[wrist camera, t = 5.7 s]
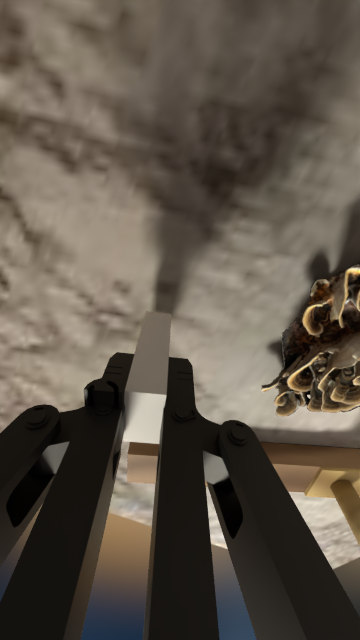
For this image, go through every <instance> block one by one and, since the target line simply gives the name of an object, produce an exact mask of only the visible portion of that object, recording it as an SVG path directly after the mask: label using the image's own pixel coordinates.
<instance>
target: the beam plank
mask: <svg viewBox="0 0 360 640" xmlns="http://www.w3.org/2000/svg"><path fill="white" fill-rule="evenodd" d="M260 444H261V445H262V447H263V449H264V451H265V452H266V454H267V456H268V458H269V459H270V461H271V463H272V465H273V466H274V468H275V470H276V472H277V473H278V475H279V477H280V479H281V480H282V482H283V484H284V486H285V487H286V489H287V491H289V492H304V494H305V496H310V497H327V498H336V500H337V502H338V504H339V506H340V508H341V510H342V512H343V514H344V516H345V518H346V520H347V522H348V524H349V526H350V528H351V530H352V532H353V534H354V536H355V537H356V539H357V541H358V543H359V545H360V497H359V496H360V449H353V448H339V447H324V446H310V445H296V444H281V443H267V442H260ZM158 451H159V444H153V443H140V442H130V445H129V450H128V467H127V482H136V483H153V484H156V472H157V469H156V466H157V458H158ZM205 485H206V487H208V485H207V481H205Z"/></svg>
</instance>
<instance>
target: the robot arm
mask: <svg viewBox="0 0 360 640" xmlns="http://www.w3.org/2000/svg"><path fill="white" fill-rule="evenodd" d="M170 327H171V314H165V313H156V312H147V311H146V314H145V318H144V321H143V325H142V329H141V332H140V336H139V340H138V344H137V347H136V351H135V354H128V353H118V352H117V353H116V354H114V355H113V356H112V357H111V358H110V359H109V362H108V364H107V367H106V369H105V372H104V374H103V376H102V378H100V379H97V380H94V381H92V382H90V383H89V384H87V386H86V387H85V388H84V399H85V406H84V407H82V408H79V409H76V410H72V411H66V412H61V413H59V411H58V410H57V408H55V407H53V406H52V405H45V404H44V405H37V406H34V407H31V408H29V409H27V410H26V411H24V412H23V413H21V414H20V415H19V416H18V417H17V418H16V419H15V420H14V421H13V422H12V423H11V424H10V425H9V426H8V427H6V428H5V429H4V430H3V431H2V432H1V433H0V566H1V565H2V563H3V562H4V560H5V559H6V557H7V556H8V554H9V553H10V551H11V550H12V548H13V547H14V545H15V544H16V542H17V541H18V539H19V538H20V536H21V535H22V533H23V532H24V530H25V529H26V527H27V526H28V524H29V523H30V521H31V520H32V518H33V517H34V515H35V514H36V512H37V511H38V509H39V508H40V506H41V505H42V503H43V505H42V507H41V509H40V512H39V514H38V516H37V519H36V521H35V524H34V526H33V528H32V530H31V533H30V535H29V537H28V540H27V542H26V544H25V546H24V549H23V551H22V553H21V556H20V558H19V560H18V563H17V565H16V567H15V570H14V572H13V574H12V577H11V579H10V581H9V584H8V586H7V588H6V590H5V593H4V595H3V598H2V600H1V602H0V640H80V639H81V635H82V630H83V625H84V621H85V617H86V612H87V607H88V602H89V598H90V594H91V589H92V584H93V580H94V575H95V570H96V566H97V561H98V557H99V552H100V547H101V543H102V538H103V533H104V529H105V524H106V520H107V515H108V511H109V506H110V501H111V497H112V492H113V487H114V483H115V478H116V474H117V469H118V464H119V460H120V455H121V444H122V439H123V441H128V442H140V443H153V444H159V451H158V458H157V466H156V469H157V472H156V484H155V496H154V509H153V521H152V534H151V545H150V558H149V570H148V582H147V595H146V608H145V620H144V632H143V640H219V631H218V620H217V608H216V598H215V597H216V596H215V585H214V574H213V563H212V552H211V541H210V530H209V518H208V507H207V496H206V485H205V481H207V485H208V488H209V491H210V494H211V498H212V501H213V504H214V507H215V510H216V513H217V516H218V519H219V523H220V526H221V529H222V532H223V535H224V538H225V541H226V545H227V548H228V551H229V554H230V557H231V560H232V563H233V567H234V570H235V573H236V576H237V579H238V582H239V585H240V589H241V592H242V595H243V598H244V601H245V604H246V607H247V610H248V614H249V617H250V620H251V623H252V626H253V629H254V632H255V636H256V639H257V640H360V617H359V615H358V613H357V612H356V610H355V608H354V606H353V605H352V603H351V601H350V599H349V598H348V596H347V594H346V592H345V591H344V589H343V587H342V585H341V584H340V582H339V580H338V578H337V577H336V575H335V573H334V571H333V570H332V568H331V566H330V564H329V563H328V561H327V559H326V557H325V556H324V554H323V552H322V550H321V549H320V547H319V545H318V543H317V542H316V540H315V538H314V536H313V535H312V533H311V531H310V529H309V528H308V526H307V524H306V522H305V521H304V519H303V517H302V515H301V514H300V512H299V510H298V508H297V507H296V505H295V503H294V501H293V500H292V498H291V496H290V494H289V493H288V491H287V489H286V487H285V486H284V484H283V482H282V480H281V479H280V477H279V475H278V473H277V472H276V470H275V468H274V466H273V465H272V463H271V461H270V459H269V458H268V456H267V454H266V452H265V451H264V449H263V447H262V445H261V444H260V442H259V440H258V438H257V437H256V435H255V433H254V432H253V431H252V429H251V428H250V427H249V426H247V425H246V424H245V423H242V422H240V421H237V420H229V421H226V422H224V423H223V424H222V425H219V424H216V423H213V422H211V421H209V420H207V419H205V418H204V417H203V416H201V415H200V413H199V412H198V410H197V409H196V405H195V394H194V382H193V369H192V365H191V363H190V362H189V360H188V359H183V358H173V357H169V344H170Z"/></svg>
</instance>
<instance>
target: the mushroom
mask: <svg viewBox="0 0 360 640" xmlns="http://www.w3.org/2000/svg"><path fill="white" fill-rule="evenodd" d="M311 291H312V292H311V294H310V296H311V297H312V298H311V301H310V302H309V303H308V304H309V305H310V306H309V307H307V308H306V309H305V312H304V313H303V315H300V316H301V317H299V318H296V320H294V321H295V322H293V323H292V324H290V325H291V327H289V329H286V330H285V332H282V334H281V337H282V338H281V340H282V350H283V358H284V360H283V362H284V368H283V370H281V372H280V374H279V376H278V377H277V378H276V379H274V380H273V382H272V383H270V384H268V385H262V386H261V387H262V388H261V391H262V392H264V391H267V390H269V389H271V388H272V387H274V386H276V385H277V384H278V385H277V386H276V388H275V389H279V395H278V396H277V397H276V398H275V401H274V404H276V406H278V407H277V409H276V416H289V415H291V414H293V413H294V412H295V411H296V410H297V409H298V406H301V407H304V406H305V405H306V404H307V409H308V410H309V411H313V412H321V411H323V412H330V413H336V412H340V411H341V412H347V411H351V410H353V409H355V408H357V407H360V264H357V265H355V266H352V267H349V268H347V269H346V270H344V271H342V272H339V274H336V275H333V276H332V277H330V278H329V280H328V281H327V280H326V279H321V280H317V281H316V282H315V283H314V285H313V286H312V288H311ZM307 395H311V398H310V399H309V398H308V397H307Z"/></svg>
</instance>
